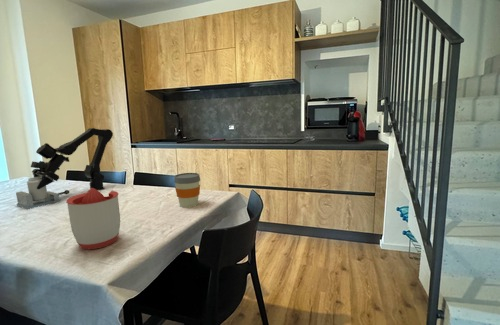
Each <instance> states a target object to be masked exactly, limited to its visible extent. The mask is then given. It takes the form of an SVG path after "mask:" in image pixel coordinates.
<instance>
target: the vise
mask: <svg viewBox="0 0 500 325" xmlns="http://www.w3.org/2000/svg"><path fill="white" fill-rule="evenodd" d="M47 194H48V197H47V198H46V199H44V200H41V201H33V200H32V194H29V192H25V191H22V190H20V191H17V192H15V195H16V201H17V203H16V206H17V207H20V208H22V207H23V209H25V208H26V209H25V210H30V209H29V208H31V209H35V208H38V206H39V207H41V206H42V205H43V206H46V205H50V204H51V205H52V204H54V203H59V202H61V201H62V199H61V198H60V195H69V194H70V190H68V189H65V190H64V191H62V192H58V193H57V192H54V191H50V190H49V191H48V190H47ZM34 207H35V208H34Z"/></svg>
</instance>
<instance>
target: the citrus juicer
mask: <svg viewBox="0 0 500 325" xmlns="http://www.w3.org/2000/svg"><path fill="white" fill-rule="evenodd" d="M119 202H120V201H119V192H118V191H116V190H115V191H114V190H111V191H109V192H108V195H107V196H104V194H103V193H101V192H100V191H99V190H96V189H94V188H91V189H90V188H89V190H88V191H87V192H84V193H80V194H76V195H74V196H71V197H68V198H67V199H66V201H65V203H67V209H68V216H69V223H70V228H71V232H72V234H73V237H74V239H75V242H76V243H77V245H78V246H79V248H81V249H84V250H96V249H102V248H101V247H103V248H106V247H107V246H109V245H112V244H113V243H115V242H116V241H117V240H118V236H119V234H120V228H121V214H120V203H119ZM105 246H106V247H105Z"/></svg>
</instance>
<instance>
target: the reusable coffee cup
mask: <svg viewBox="0 0 500 325" xmlns="http://www.w3.org/2000/svg"><path fill="white" fill-rule="evenodd" d="M200 181H201V176H200V173H197V172H183V173H178V174H175V175H174V180H173V182H174V183H175V184H174V185H175V194H176V197H177V198H178V203H179V206H180V207H181V208H193V207H195V206H198V205H199V196H200V191H201V184H200Z"/></svg>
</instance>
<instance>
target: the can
mask: <svg viewBox="0 0 500 325" xmlns="http://www.w3.org/2000/svg"><path fill="white" fill-rule="evenodd" d="M41 180H42V177H34V176H33V177H30V178H28V180H27V182H26V185H27V190H28V193H29V194H32V200H33V201H41V200H44V199H46V198H47V197H48V194H47V191H48V190H47V185H46V186H44V187H42V188H40V189H37V186H38V185H39V183H40V182H41Z"/></svg>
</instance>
